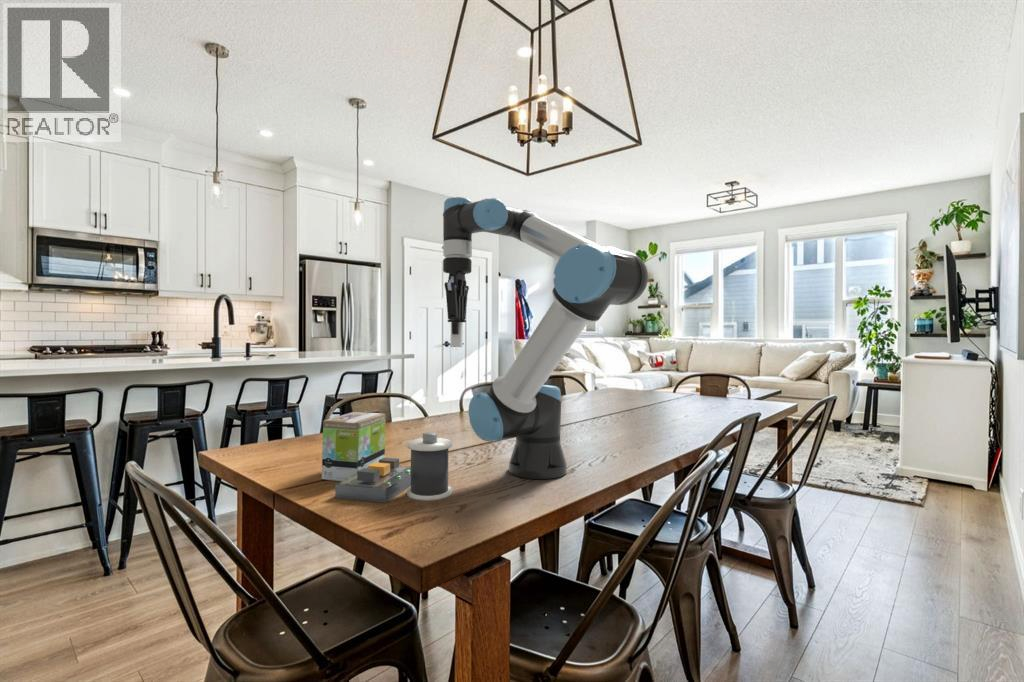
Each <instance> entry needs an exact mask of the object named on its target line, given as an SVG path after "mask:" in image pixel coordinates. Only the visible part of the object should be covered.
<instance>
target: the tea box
mask: <svg viewBox="0 0 1024 682" xmlns="http://www.w3.org/2000/svg"><path fill="white" fill-rule="evenodd" d="M386 416H387V415H386V413H378V412H363V411H362V412H360V411H353V412H352V411H351V412H348V413H344V414H342V415H339V416H338V415H337V416H334V417H331V418H328V419H324V420H323V421H322V422H323V423H322V450H321V451H322V454H321V455H322V456H321V458H322V459H321V461H322V462H321V480H326V481H327V480H328V481H335V482H336V481H337V482H341V481H343V480H345V479H347V478H349V477H351V476H353V475H355V474H357V471H359V470H361V469H363V468H365V469H366V468H368V466H369V465H371V464H373V463H374V462H376V463H379V460H380V459H382V458H386V456H385V455H386V425H387V424H386V421H387V420H386V419H387V417H386Z"/></svg>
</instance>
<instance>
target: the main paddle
mask: <svg viewBox="0 0 1024 682" xmlns="http://www.w3.org/2000/svg"><path fill="white" fill-rule="evenodd" d="M368 469H378V470H379V476H384V475H386V474H388V473H390V464H389V463H376V462H374V463H373V464H371V465H369V466H368Z"/></svg>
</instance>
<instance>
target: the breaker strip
mask: <svg viewBox="0 0 1024 682" xmlns="http://www.w3.org/2000/svg"><path fill="white" fill-rule="evenodd" d="M366 469H368V468H366ZM410 487H411V466H399V467H398V468H396V469H395V470H392V469H390V473H388V474H386V475H384V476H379V479H378V480H376V481H374V482H369V481H358V480H357V474H355V475H353V476H351V477H349V478H347V479H345V480H343V481H338V483H336V484H335V487H334V491H335V492H334V493H335V494H334V496H335V499H340V500H350V501H361V502H362V501H363V502H371V503H381V504H382V503H383V504H386V503H389V502H390V501H391V500H392V499H394V498H395V497H397V496H398V495H399V494H401V493H403V491H405V490H407V489H408V488H410Z"/></svg>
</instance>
